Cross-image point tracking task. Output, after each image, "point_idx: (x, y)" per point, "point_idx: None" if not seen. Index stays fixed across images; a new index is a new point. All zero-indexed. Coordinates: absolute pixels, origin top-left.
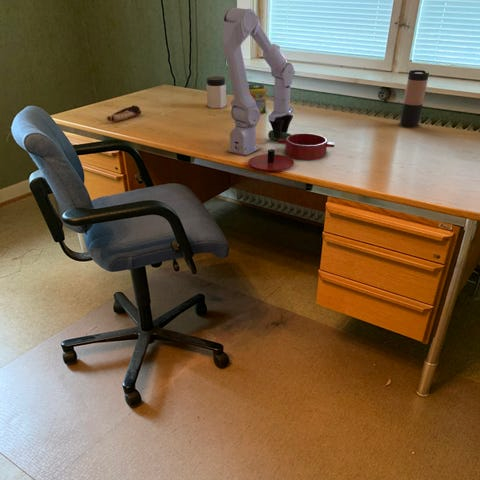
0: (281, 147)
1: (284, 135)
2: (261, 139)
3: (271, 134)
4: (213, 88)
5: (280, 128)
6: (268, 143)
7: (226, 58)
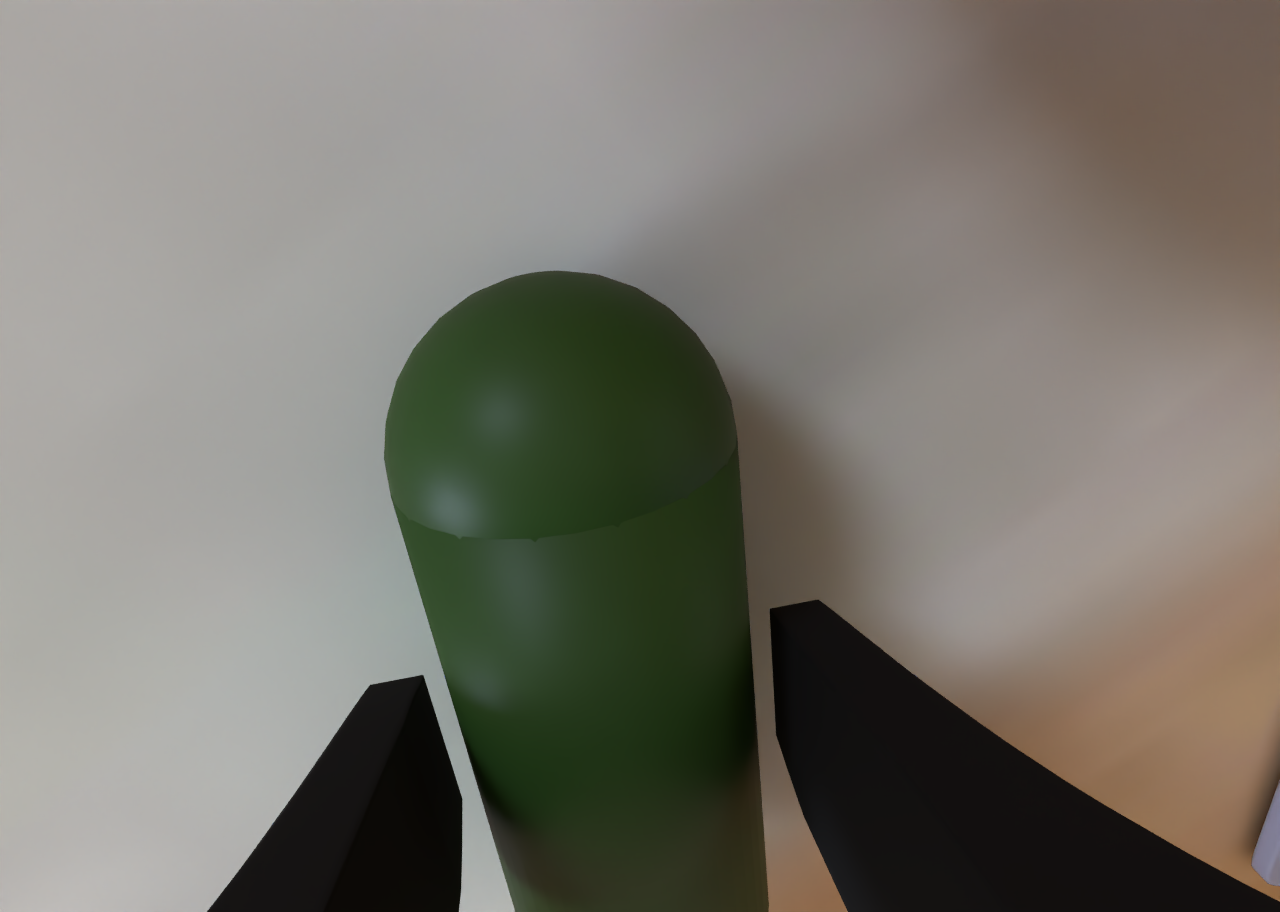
0: (1046, 238)
1: (726, 559)
2: (777, 901)
3: (766, 891)
4: None
5: (1098, 852)
6: (924, 669)
7: None
